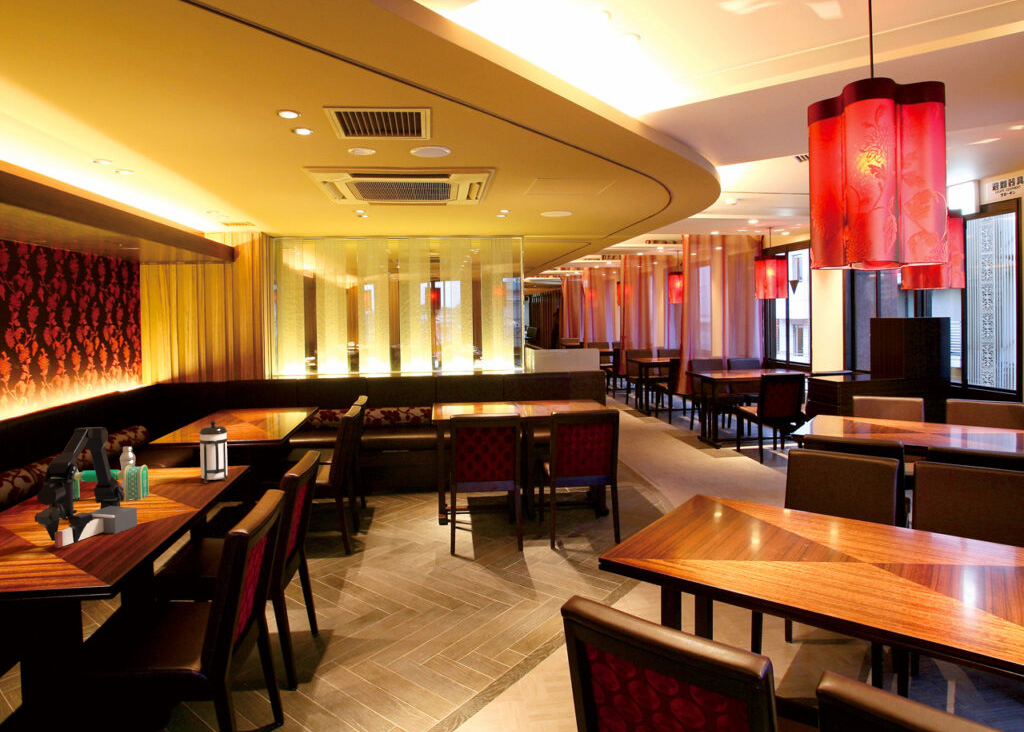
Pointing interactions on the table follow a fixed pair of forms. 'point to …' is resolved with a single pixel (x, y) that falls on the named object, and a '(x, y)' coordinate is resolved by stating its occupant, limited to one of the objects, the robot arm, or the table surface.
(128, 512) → the block
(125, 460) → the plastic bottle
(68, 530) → the white bar pink end
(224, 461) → the coffee press
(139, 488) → the decorative scroll
